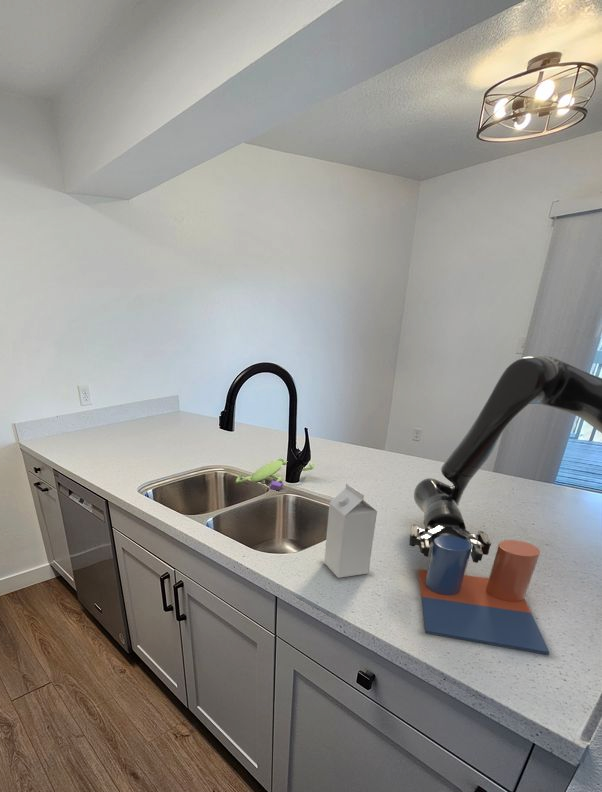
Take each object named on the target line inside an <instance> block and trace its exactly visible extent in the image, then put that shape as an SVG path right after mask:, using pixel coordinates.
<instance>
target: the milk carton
mask: <svg viewBox="0 0 602 792" xmlns="http://www.w3.org/2000/svg"><path fill="white" fill-rule="evenodd" d="M364 497H365V494H364V493H362V492H361V491H359V490H357V489H356V488H355V487H353V486H352V485H350V484H348V483H345V488H344V489H342V491H340V492H339V494H338V495H336V496H335V497H334V498H333V499H332V500H331V501H330V502H329V505H328V515H327V526H326V537H325V540H326V541H325V548H324V558H323V559H324V562H323V563H324V564H325V566H326V567H327V568H328V569H329V570H330V571H331V572H332V574H334V575H335V576H336V577H337V578H338V579H340V578H347V577H354V576H359V575H367V574H369V571H370V565H371V564H370V563H371V558H372V557H371V555H372V550H373V543H374V535H375V528H376V522H377V514H378V511H377V510H376V509H375V508H374V507H373V506H371V504H369V503H368V502H367V501H365V500H364Z"/></svg>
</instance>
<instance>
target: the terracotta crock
mask: <svg viewBox="0 0 602 792" xmlns="http://www.w3.org/2000/svg"><path fill="white" fill-rule="evenodd" d="M540 555H541V550H540V549H539V548H538V547H537V546H536V545H534V544H531V543H528V542H525V541H522V540H515V539H506V540H502V541H500V542H499V543H498V544H497V548H496V552H495V556H494V559H493V562H492V566H491V569H490V573H489V576H488V578H489V579H488V582H487V586H486V591H487V592H488V593H489V594H490V595H491V596H493V597H495V598H497V599H500V600H504V601H509V602H519V601H522V600H523V599H524V598H525V599H526V596H527V593H528V589H529V587H530V584H531V581H532V577H533V575H534V572H535V569H536V566H537V563H538V560H539V558H540Z"/></svg>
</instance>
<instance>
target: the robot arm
mask: <svg viewBox="0 0 602 792" xmlns="http://www.w3.org/2000/svg"><path fill="white" fill-rule="evenodd" d="M528 405H542V406H546V407H550V408H554V409H557V410H560V411H564V412H566V413H568V414H572V415H574V416H576V417H578V418H580V419H582V420H583V421H584V422H586V423H587V424H589V425H590V426H591V427H593V428H594V429H595V430H596V431H598V432H599V433H600V434H602V377H599V376H597V375H595V374H592V373H589V372H587V371H585V370H583V369H580V368H578V367H576V366H573V365H572V364H569V363H568V362H566V361H563V360H561V359H559V358H557V357H553V356H547V355H544V356H543V355H540V356H538V355H533V356H525V357H521V358H519V359H516V360H515V361H513V362H512V363H510V364H509V365H508V366H507V367H506V368H505V370H504V371H503V372H502V374H501V375H500V377H499V379H498V381H497V382H496V384H495V385H494V387H493V389H492V391H491V393H490V395H489V397H488V399H487V401H486V402H485V404H484V406H483V407H482V409H481V410H480V412H479V414H478V416H477V417H476V419H475V421H474V422H473V424H472V425H471V427H470V428H469V430H467V433H466V434H465V435H464V437H463V438H462V439H461V440H460V442H459V443H458V445H457V446H456V447H455V448H454V449H453V451H452V453H450V454H449V456H448V457H447V459H446V460H445V461H444V463H443V464H442V466H441V468H440V472H441V474H442V476H443V477H444V478H445V479H446V480H447V481H449V482H450V483H451V484H452V485H449V484H447V483H444V482H442V481H440V480H438V479H436V478H432V477H428V478H424V479H422V480H420V481H419V482H418V483H417V485H416V487H415V488H414V490H413V500H414V502H415V504H416V506H417V507H418V508H419V509H420V510H421V511H422V512H423V525H424V528H420V527H419V525H418V524H413V523H412V524H411V527H410V531H409V541H408V545H409V546H410V547H416V546H417V547H418V549H419V553H420V554H421V555H423V557H424V558H425V557H426V558H427V557H429V554H430V549H431V548H433V543H434V540H435V538H437V537H440V536H454V537H459V538H462V539H465V540H467V541H468V542H470V543H471V545H472V548H471V552H470V556H471V560H472V562H473V563H476V564H477V563H479V561H480V562H481V561H482V559H483V556H484V555H485V556H487V555H489V553H490V548H491V546H492V541H491V540H490V538H489V537H488V535H487V532H485V531H483V530H479V531H477V533H470V531H468V530H467V527H466V524H465V520H464V517H463V515H462V512H461V510H460V509H459V507H458V506H459V504H460V502H461V500H462V497H463V495H464V492H465V491H466V488H467V486H468V484H469V483H470V482H471V480H472V479H473V477H474V476H475V475H476V474H477V473H478V472H479V471H480V469H482V467H483V466H484V465H485V464H486V462H487V461H488V460H489V458H490V457H491V455H492V453H493V452H494V450H495V448H496V446H497V444H498V441H499V439H500V437H501V436H502V434H503V432H504V430H505V429H506V428H507V427H508V425H509V424H510V423H511V422H512V421H513V420H514V419H515V418H516V416H518V414H520V412H522V411H523V410H524V409H525V408H526V407H527V406H528Z"/></svg>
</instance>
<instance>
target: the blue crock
mask: <svg viewBox="0 0 602 792" xmlns="http://www.w3.org/2000/svg"><path fill="white" fill-rule="evenodd" d="M472 547H473V544H471V543H470V542H468V541H467V540H465V539H462V538H459V537H454V536H440V537H437V538H435V540H434V543H433V547H431V548H432V549H431V553H430V558H429V563H428V566H427V570H428V571H427V576H426V581H425V585H426V587H427V588H428V589H429V590H431V591H433V592H435V593H438V594H442V595H455V594H458V593H459V592H460V590H461V586H462V583H463V579H464V575H466V571H467V567H468V563H469V560H470V556H471V553H470V552H471V548H472Z"/></svg>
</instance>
